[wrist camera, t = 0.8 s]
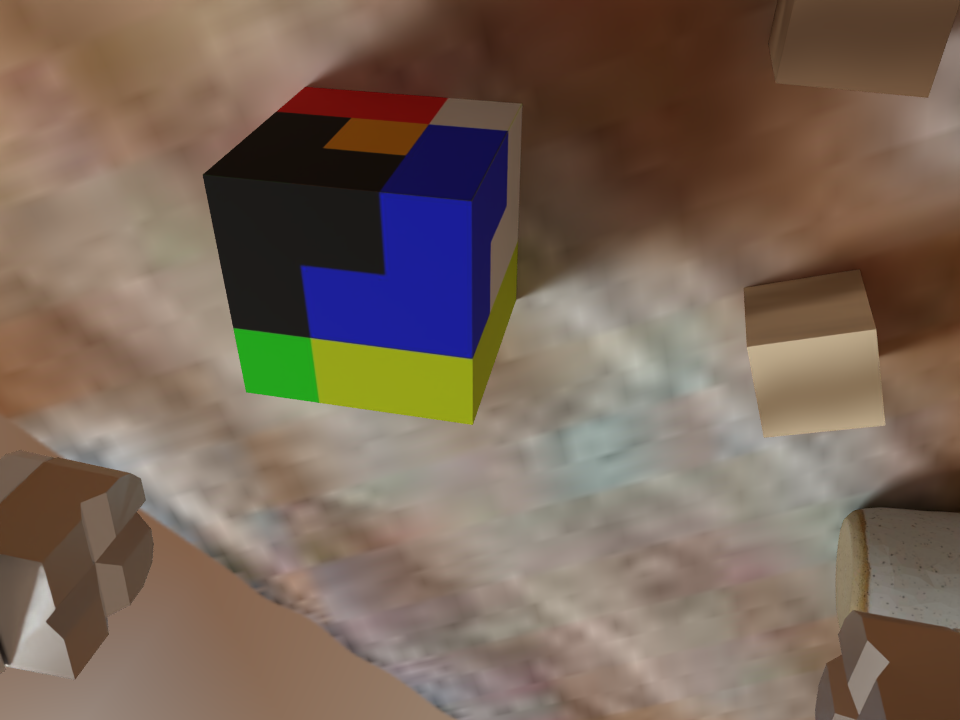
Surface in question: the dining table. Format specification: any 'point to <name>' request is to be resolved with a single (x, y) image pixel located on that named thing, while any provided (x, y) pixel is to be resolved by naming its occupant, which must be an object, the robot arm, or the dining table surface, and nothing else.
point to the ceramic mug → (900, 565)
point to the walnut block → (861, 44)
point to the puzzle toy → (372, 249)
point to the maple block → (814, 355)
